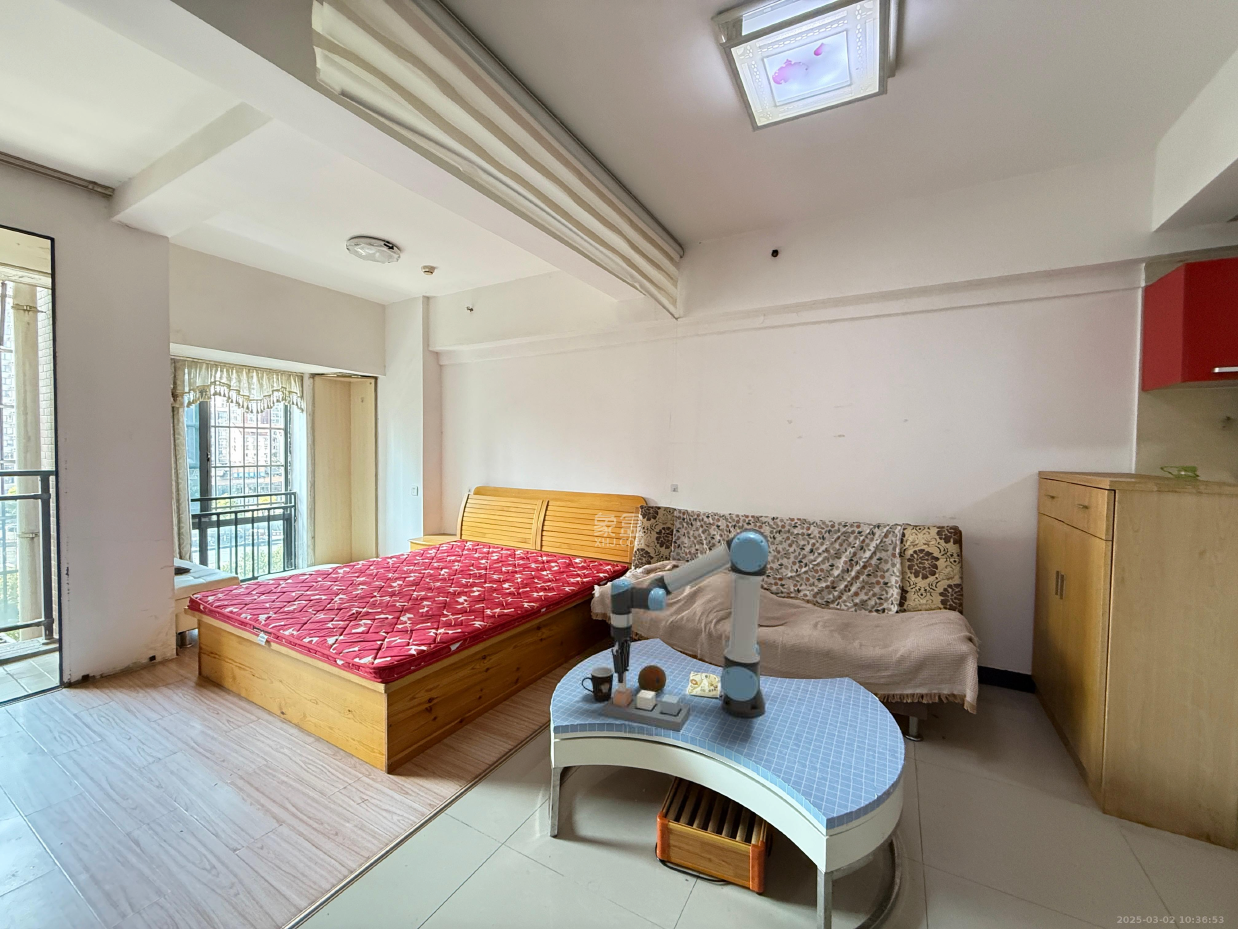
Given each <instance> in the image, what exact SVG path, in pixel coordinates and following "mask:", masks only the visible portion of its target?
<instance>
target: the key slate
mask: <svg viewBox="0 0 1238 929" xmlns="http://www.w3.org/2000/svg"><path fill="white" fill-rule="evenodd" d="M661 701H662V712H663V713H668V714H673V715H676V714H677V713H678V711H679V710H680V704H681V696H679V695H672V694H667V693H666V694H665V695H664V697H663V698H662V699H661Z"/></svg>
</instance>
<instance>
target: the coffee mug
mask: <svg viewBox="0 0 1238 929" xmlns="http://www.w3.org/2000/svg"><path fill="white" fill-rule="evenodd" d="M614 673H615V672H614V668H611V667H608V666H598V667H595V668H593V669H591V670H590V676H586V677H584V678H583V679H582V680H581V686H582V687H583V689H585V690H586V691H588V692H590V693H592V694H593V700H594V701H595V702H597V703H607V702H608V701H609V700H610V699H611V698H612V696H613V684H614V683H613V681H614ZM586 680H589V681H590V682H591V686H592V689H591V688H587V687H586V686H585V685H584V681H586Z"/></svg>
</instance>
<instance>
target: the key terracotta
mask: <svg viewBox="0 0 1238 929" xmlns="http://www.w3.org/2000/svg"><path fill="white" fill-rule="evenodd" d="M632 692H633V691H632V689H630V688H626V691H625V692H621V691H618V688H617V689H615V690H614V692H612V697H613V705H618V706H623V707H627V706H628V705H629V703H630V702H631V701H632V694H633V693H632Z"/></svg>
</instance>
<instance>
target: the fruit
mask: <svg viewBox="0 0 1238 929" xmlns="http://www.w3.org/2000/svg"><path fill="white" fill-rule="evenodd" d="M637 684H638V686H639V688H640V689H641V690H646V691H651V692H655V694H656V693H660V692H661V691H662V690H663V689H664V688H665V687H666V684H667V675H666V672H665V670H664V669H663V668H661V667H660V666H658V665H656V664H655V665H654V664H649V665H647V666H644V667H643V668H641V669H640V672H639V673H638V676H637Z"/></svg>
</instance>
